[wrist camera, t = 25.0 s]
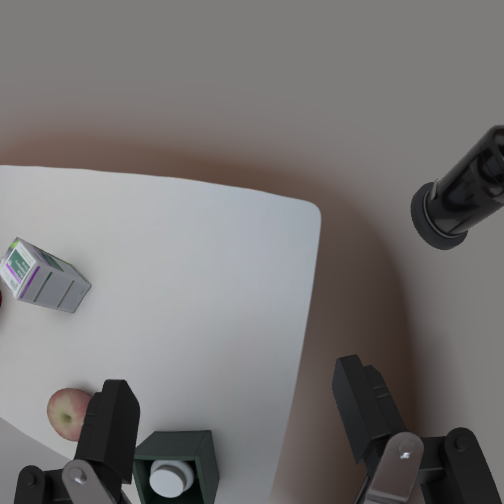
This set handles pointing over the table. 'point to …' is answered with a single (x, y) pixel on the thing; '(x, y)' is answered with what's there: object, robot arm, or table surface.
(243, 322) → the table surface
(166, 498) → the trash can
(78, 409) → the apple
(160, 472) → the pill bottle
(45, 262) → the syrup box
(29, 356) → the table surface
